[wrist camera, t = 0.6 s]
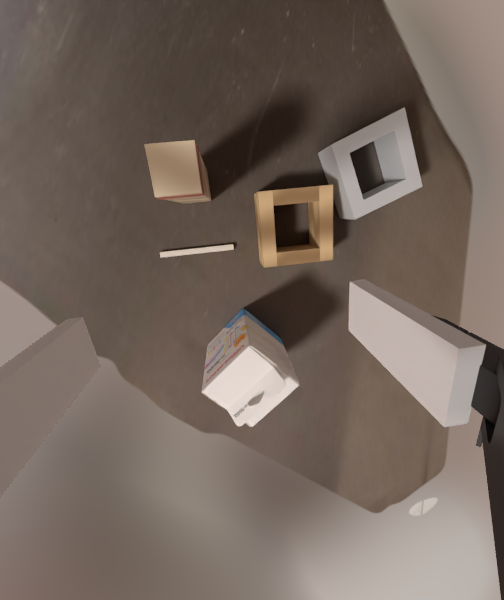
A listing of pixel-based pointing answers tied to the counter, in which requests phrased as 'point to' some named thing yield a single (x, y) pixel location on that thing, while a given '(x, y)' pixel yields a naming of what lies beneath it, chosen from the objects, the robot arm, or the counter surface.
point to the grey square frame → (393, 161)
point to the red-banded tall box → (178, 172)
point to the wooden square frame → (318, 225)
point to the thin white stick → (196, 250)
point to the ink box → (247, 370)
